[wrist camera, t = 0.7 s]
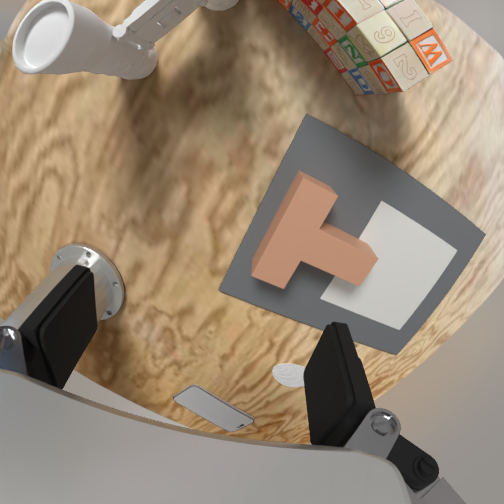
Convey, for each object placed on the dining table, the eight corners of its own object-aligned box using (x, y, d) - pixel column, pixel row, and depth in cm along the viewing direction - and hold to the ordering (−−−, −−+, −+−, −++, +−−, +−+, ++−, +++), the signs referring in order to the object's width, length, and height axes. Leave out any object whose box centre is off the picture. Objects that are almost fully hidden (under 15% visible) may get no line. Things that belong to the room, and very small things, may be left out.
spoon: (335, 407, 52) (336, 410, 52) (263, 373, 48) (263, 375, 47) (357, 393, 50) (357, 395, 50) (286, 355, 46) (286, 358, 45)
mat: (396, 353, 45) (396, 355, 45) (218, 288, 40) (218, 290, 40) (484, 233, 35) (485, 234, 35) (306, 113, 30) (306, 113, 30)
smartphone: (194, 384, 49) (256, 421, 53) (195, 379, 50) (256, 416, 54) (170, 399, 51) (231, 433, 55) (171, 394, 52) (231, 428, 56)
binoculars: (136, 92, 29) (33, 90, 13) (109, 63, 28) (2, 47, 11) (255, -5, 24) (250, -95, 8) (224, -32, 23) (195, -124, 6)
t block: (335, 293, 40) (341, 311, 36) (252, 259, 38) (251, 275, 34) (384, 216, 35) (397, 229, 31) (298, 170, 33) (303, 178, 29)
